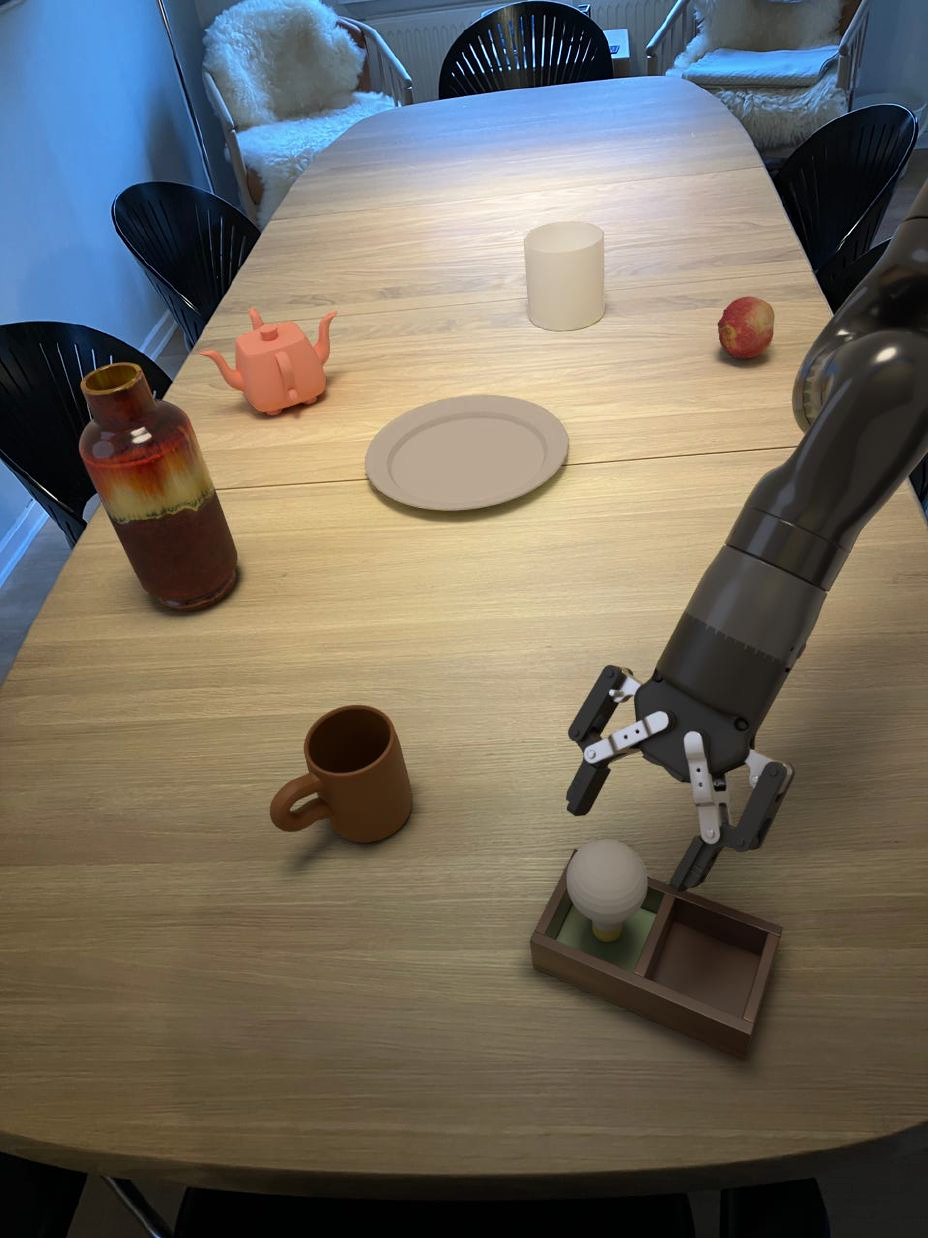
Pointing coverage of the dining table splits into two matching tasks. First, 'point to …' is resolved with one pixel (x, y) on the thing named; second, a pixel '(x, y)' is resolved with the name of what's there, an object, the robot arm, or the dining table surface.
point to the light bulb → (607, 885)
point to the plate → (466, 452)
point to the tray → (667, 961)
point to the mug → (349, 777)
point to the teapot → (277, 364)
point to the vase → (156, 490)
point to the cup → (565, 275)
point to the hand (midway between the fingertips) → (625, 849)
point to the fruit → (746, 327)
